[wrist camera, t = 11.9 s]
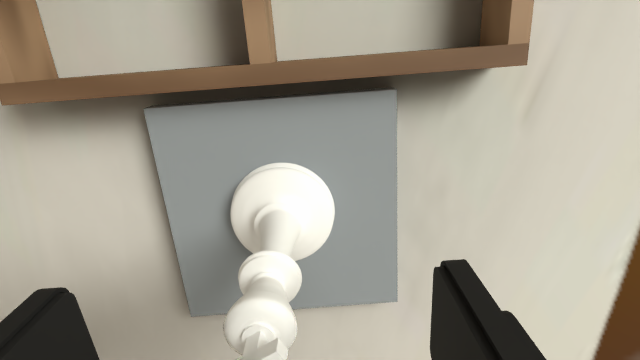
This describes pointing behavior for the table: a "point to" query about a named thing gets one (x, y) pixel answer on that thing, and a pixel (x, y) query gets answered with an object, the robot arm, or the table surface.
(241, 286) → the chess piece
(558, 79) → the table surface
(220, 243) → the pad
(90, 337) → the robot arm
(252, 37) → the bay frame
